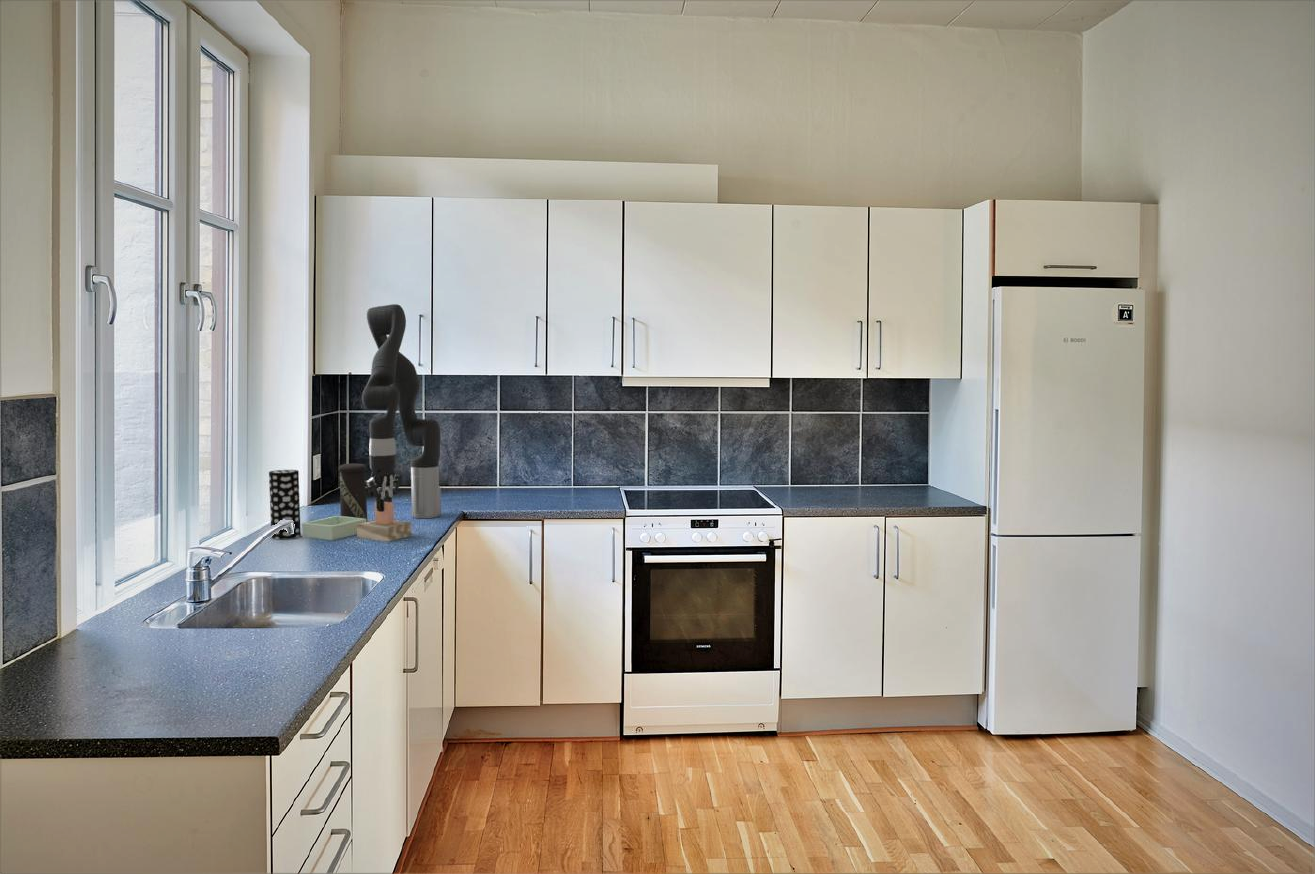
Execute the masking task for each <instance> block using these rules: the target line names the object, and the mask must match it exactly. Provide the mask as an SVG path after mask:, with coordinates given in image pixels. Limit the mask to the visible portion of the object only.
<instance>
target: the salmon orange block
mask: <svg viewBox="0 0 1315 874" xmlns="http://www.w3.org/2000/svg"><path fill="white" fill-rule="evenodd" d="M394 507H395V506H394V502H393V501H392V502H384V511H383V512H379V511H377V508H376V501H375V502H374V516H375V518H374V519H375V523H381V524H389V525H390V524H394V520H395V512H394V509H395V508H394Z"/></svg>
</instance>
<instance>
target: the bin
mask: <svg viewBox="0 0 1315 874" xmlns="http://www.w3.org/2000/svg"><path fill="white" fill-rule="evenodd" d="M365 522H366V519H363V518H354V517H345V516H341V515H335V516H329V517H325V518H320V519H315V520H311V521H307V522H302V523H301V531H302V533H301V535H302V539H304V538H312V539H320V540H328V541H334V540H338V539H344V538H347V537H350V536H352V537H353V536H355V535H356V536H357V524H361V523H365Z"/></svg>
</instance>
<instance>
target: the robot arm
mask: <svg viewBox="0 0 1315 874" xmlns="http://www.w3.org/2000/svg"><path fill="white" fill-rule="evenodd" d="M366 320H367V324H368V328H369V331H370V334H371V335H372V338H373V340H374V342H375V344H376V347H377V351H376V353H375V354H374V356H373V358H372V362H371V371H370V377H369V379H368V381H367V383H366V385H365V387H364V389H363V391H362V395H361V403H362V405H363V406H364V408H366V410H369V411H370V410H371V411H381V410H383V411H384V410H386V414H384V415H383V416H379V417H376V418H375V417H374V418H372V419H370V420H369V444H368V445H369V447H368V448H369V449H368V451H369V469H370V470H371V475H370V478H369V479H368V480H366V479H365V485H366V491H367V492H368V494H369V497H370V498H373V499H375V502H376V508H377V511H379V512H383V511H384V502H393V497H394V496H395V495H398V491H399V488H400V484H401V481H402V478H403V477H402V476H401V475H398V474H396V471H395V469H396V468H397V452H396V451H397V449H396V448H397V447H396V441H395V440H396V439H395V419H396V414H397V409H398V413H399V414H398V415H399V418H400V421H401V427H402V430H403V431H402V433H403V436H404V438H405V440H406V443H408V445H410V446H413V447H423V449H422V452H421V453H420V454H419V455H417V456H413V457H412V458H411V459H410V490H411V491H410V493H411V496H410V497H411V517H412V518H414V519H431V518H432V519H433V518H437V517H439V516H441V515H442V488H441V486H440V478H439V477H440V475H439V474H440V472H439V470H440V469H439V461H440V457H441V456H440V455H441V427H440V424H439V423H438V421H437V420H435V419H424V418H423V419H422V418H421V419H420V418H418V416H417V414H416V410H415V403H416V400H417V398H418V394H419V391H420V387H421V383H420V380H419V376H418V373H417V370H416V367H415V365H414V363H412V362H411V360H410V359H409V358H407V357H406V356H405V355H404V354H403V353H402V352H400V349H401V346H402V343H403V338H404V337H405V336H404V335H405V331H406V327H407V319H406V314H405V311H404V309H403V307H402V306H401V305H399V304H397V303H395V304H393V303H392V304H387V305H379V306H373V307H369V308H368V309H367V311H366Z"/></svg>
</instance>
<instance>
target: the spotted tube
mask: <svg viewBox="0 0 1315 874" xmlns="http://www.w3.org/2000/svg"><path fill="white" fill-rule="evenodd" d="M299 475H300V472H299V470H297V469H278V470H270V471H268V484H269V485H268V486H269V488H268V489H269V509H270V527H271V526H272V525H275V524H277V523H278V522H279V521H280V520H283V519H285V520H293V521H294V524H295V529H294V534H289V533H287V531H286V530H284V529H283V530H280V531H279V532H278V533H276V534H274V535H273V536H272V537H270V538H271V539H273V540H290V539H291V540H292V539H296V538H299V537H301V535H302V533H301V531H302V527H301V505H300V504H301V503H300V481H299V480H300V479H299Z"/></svg>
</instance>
